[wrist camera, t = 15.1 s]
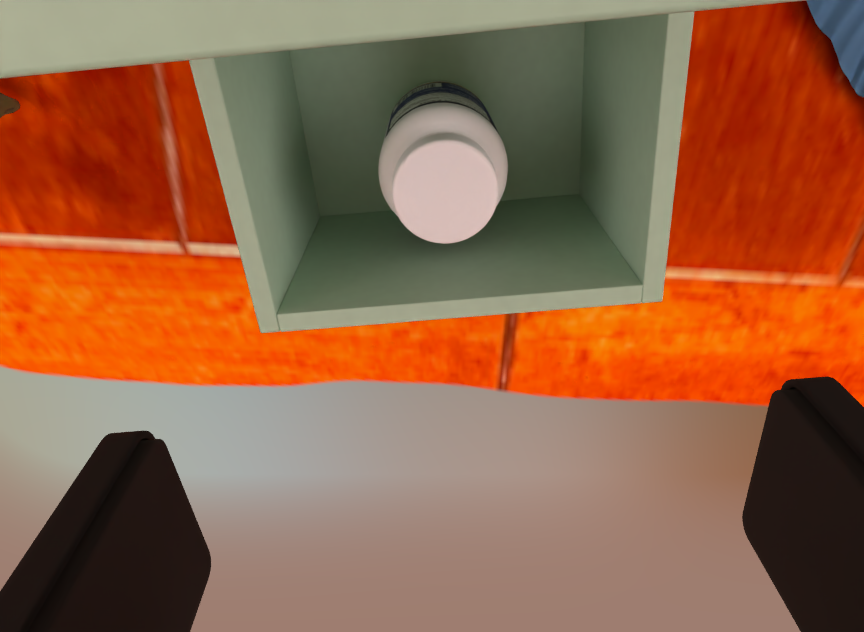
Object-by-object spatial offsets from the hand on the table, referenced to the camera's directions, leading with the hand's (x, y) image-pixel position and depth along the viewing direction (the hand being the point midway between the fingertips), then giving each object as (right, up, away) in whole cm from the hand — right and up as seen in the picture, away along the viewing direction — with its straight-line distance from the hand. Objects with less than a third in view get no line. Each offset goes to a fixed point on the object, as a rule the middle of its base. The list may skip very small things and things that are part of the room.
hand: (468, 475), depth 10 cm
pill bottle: (0, +12, +21) cm, 25 cm away
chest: (0, +14, +21) cm, 25 cm away
